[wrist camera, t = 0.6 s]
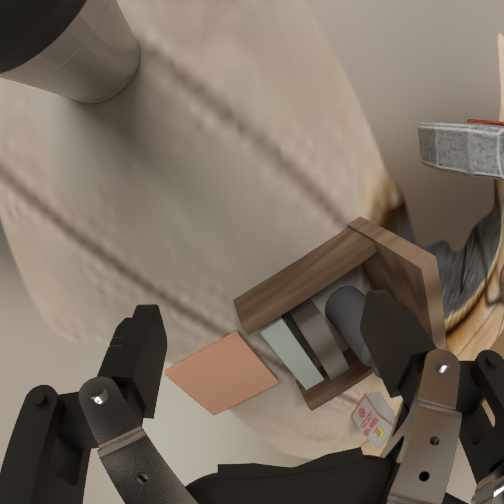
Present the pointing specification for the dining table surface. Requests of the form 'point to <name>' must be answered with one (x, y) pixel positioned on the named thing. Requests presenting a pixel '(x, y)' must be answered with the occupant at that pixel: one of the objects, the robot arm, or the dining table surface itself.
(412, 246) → the walnut rack
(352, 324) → the bottle
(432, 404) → the robot arm
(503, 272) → the gemstone
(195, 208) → the dining table surface
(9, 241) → the dining table surface
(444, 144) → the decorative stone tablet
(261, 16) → the dining table surface
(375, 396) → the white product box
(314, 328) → the charcoal offcut
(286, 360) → the sage offcut
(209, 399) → the terracotta pad
